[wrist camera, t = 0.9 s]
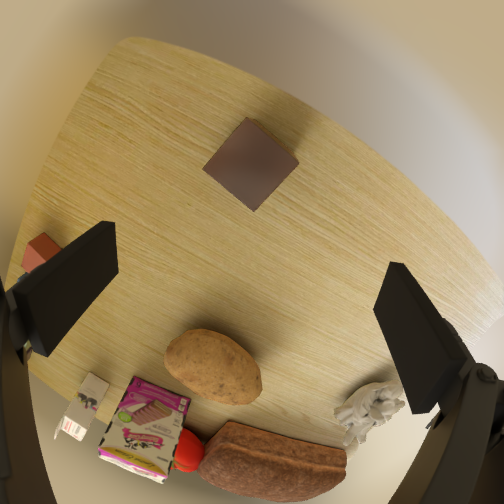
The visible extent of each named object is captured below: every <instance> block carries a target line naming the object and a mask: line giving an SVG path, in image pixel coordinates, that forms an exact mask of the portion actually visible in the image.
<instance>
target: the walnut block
mask: <svg viewBox="0 0 504 504" xmlns="http://www.w3.org/2000/svg"><path fill="white" fill-rule="evenodd" d="M298 165H299V161H298V160H297V158H296V156H295V154H294V153H293V152H292V151H291V150H290V149H289V148H287V147H286V146H285V145H284V144H283V143H282V142H281V141H279V140H278V139H277V138H276V137H275V136H274V135H273V134H271V133H270V132H269V131H268V130H267V129H266V128H264V127H263V126H262V125H261V124H260V123H258V122H257V121H256V120H255V119H251V118H247V117H246V118H245V119H244V121H243V122H242V123H241V124H240V125H239V126H238V127H237V128H236V130H235V131H234V132H233V133H232V134H231V135H230V137H229V138H228V139H227V140H226V141H225V142H224V144H223V145H222V146H221V147H220V148H219V149H218V151H217V152H216V153H215V154H214V155H213V157H212V158H211V159H210V160H209V161H208V163H207V164H206V165H205V166H204V168H203V170H204V171H205V172H206V173H207V174H209V175H210V176H211V177H212V178H214V179H215V180H216V181H217V182H218V183H220V184H221V185H222V186H223V187H224V188H226V189H227V190H228V191H229V192H230V193H232V194H233V195H234V196H235V197H236V198H237V199H239V200H240V201H241V202H242V203H243V204H245V205H246V206H247V207H248V208H249V209H251V210H252V211H253V212H255V210H256V209H257V208H258V207H259V206H260V205H261V204H262V203H263V202H264V201H265V200H266V199H267V198H268V196H269V195H270V194H271V193H272V192H273V191H274V190H275V189H276V188H277V187H278V186H279V185H280V184H281V183H282V182H283V180H284V179H285V178H286V177H287V176H288V175H289V174H290V173H291V172H292V171H293V170H294V169H295V168H296V167H297V166H298Z"/></svg>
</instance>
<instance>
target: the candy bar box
mask: <svg viewBox="0 0 504 504" xmlns="http://www.w3.org/2000/svg"><path fill="white" fill-rule="evenodd" d="M190 402H191V399H189V398H186V397H183V396H180V395H178V394H175V393H173V392H170V391H168V390H165V389H163V388H160V387H158V386H156V385H153V384H151V383H149V382H146V381H144V380H142V379H140V378H137V377H135V376H133V378H132V380H131V381H130V384H129V385H128V387H127V389H126V391H125V393H124V395H123V397H122V399H121V401H120V403H119V405H118V407H117V409H116V411H115V413H114V415H113V417H112V419H111V422H110V424H109V426H108V428H107V430H106V432H105V434H104V436H103V438H102V440H101V442H100V444H99V447H98V451H99V457H100V458H102V459H104V460H106V461H108V462H110V463H112V464H115V465H117V466H119V467H121V468H124V469H126V470H128V471H131V472H133V473H136V474H138V475H141V476H143V477H146V478H148V479H151V480H154V481H157V482H159V483H162V484H163V483H164V481H165V480H166V479H167V477H168V475H169V472H170V469H171V465H172V462H173V458H174V455H175V452H176V448H177V445H178V442H179V438H180V435H181V432H182V428H183V425H184V422H185V419H186V415H187V412H188V409H189V405H190Z"/></svg>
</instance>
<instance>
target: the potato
mask: <svg viewBox="0 0 504 504" xmlns="http://www.w3.org/2000/svg"><path fill="white" fill-rule="evenodd" d="M164 365H165V366H166V368H167V369H168V371H169V372H170V374H171V375H172V376H173V377H175V378H176V379H177V380H178V381H180V382H181V383H182V384H184V385H185V386H187V387H188V388H189V389H190V390H192V391H193V392H194V393H195V394H197V395H199V396H202V397H204V398H207V399H211V400H215V401H218V402H221V403H224V404H228V405H244V404H249V403H251V402H252V401H253V400H255V399H256V398H257V397H258V396H259V395H260V393H261V391H262V382H261V375H260V369H259V367H258V365H257V363H256V362H255V360H254V359H253V358H252V357H251V356H250V355H249V353H248V352H247V351H245V350H244V349H243V348H242V347H241V346H239V345H238V344H237V343H236V342H234V341H233V340H232V339H230V338H229V337H228V336H225V335H223V334H220V333H217V332H215V331H211V330H206V329H192V330H187V331H186V332H185V333H183V334H182V335H181V336H179V337H178V338H176V339H174V340H172V341H171V342H170V344H169V346H168V348H167V350H166V353H165V355H164Z"/></svg>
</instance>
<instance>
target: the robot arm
mask: <svg viewBox="0 0 504 504" xmlns="http://www.w3.org/2000/svg"><path fill="white" fill-rule="evenodd" d="M118 273H119V270H118V260H117V247H116V232H115V222H108V221H101V222H99V223H98V224H96V225H95V226H94V227H92V228H91V229H89V230H88V231H87V232H85V233H84V234H82V235H81V236H80V237H78V238H77V239H75V240H74V241H73V242H71V243H70V244H69V245H67V246H66V247H65V248H63V249H62V250H61V251H59V252H58V253H57V254H55V255H54V256H53V257H51V258H50V259H49V260H48V261H46V262H45V263H43V264H40V265H38V266H37V267H35V268H34V269H33V270H32V271H30V273H28V274H27V275H26V276H24V278H22V279H21V280H19V281H18V282H17V283H16V284H15V285H14V286H12V287H11V288H10V289H9V290H8V291H7V292H5V291H4V288H3V285H2V281H1V277H0V504H57V502H56V499H55V496H54V493H53V490H52V487H51V484H50V481H49V478H48V475H47V471H46V467H45V464H44V460H43V456H42V452H41V448H40V444H39V439H38V435H37V430H36V425H35V419H34V414H33V408H32V400H31V393H30V385H29V376H28V364H27V352H26V349H25V346H24V345H25V344H26V342H27V341H28V340H29V341H30V344H31V346H32V349H33V351H34V352H36V353H38V354H40V355H43V356H45V357H49V355H50V354H51V353H52V351H53V350H54V349H55V348H56V346H57V345H58V344H59V342H60V341H61V340H62V339H63V337H64V336H65V335H66V334H67V332H68V331H69V330H70V329H71V328H72V326H73V325H74V324H75V323H76V321H77V320H78V319H79V318H80V317H81V315H82V314H83V313H84V312H85V311H86V309H87V308H88V307H89V306H90V305H91V304H92V302H93V301H94V300H95V299H96V298H97V297H98V295H99V294H100V293H101V292H102V291H103V290H104V289H105V287H106V286H107V285H108V284H109V283H110V282H111V281H112V280H113V278H114V277H115V276H116V275H117V274H118ZM373 311H374V313H375V316H376V318H377V320H378V323H379V325H380V328H381V330H382V333H383V335H384V338H385V340H386V343H387V345H388V348H389V350H390V353H391V355H392V358H393V361H394V363H395V366H396V369H397V371H398V374H399V377H400V380H401V382H402V385H403V388H404V391H405V394H406V397H407V399H408V402H409V405H410V408H411V411H412V414H423V413H429V412H430V411H431V410H432V408H433V407H434V406H435V405H436V403H437V402H438V405H439V407H440V411H439V412H438V413H437V415H436V416H435V417H434V418H433V419H432V420H431V422H430V423H429V424H428V425H427V426H426V428H427V429H428V428H429V427H430V426H431V427H430V429H429V431H428V433H427V436H426V438H425V440H424V442H423V444H422V446H421V448H420V450H419V452H418V454H417V455H416V457H415V459H414V461H413V463H412V465H411V467H410V468H409V470H408V472H407V474H406V476H405V477H404V479H403V480H402V482H401V484H400V485H399V487H398V489H397V490H396V492H395V493H394V495H393V496H392V498H391V500H390V501H389V503H388V504H504V381H503V380H499V379H498V377H497V374H496V373H495V372H494V370H493V369H492V368H490V367H489V366H487V365H485V364H483V363H476V362H475V360H474V359H473V357H472V355H471V354H470V352H469V350H468V349H467V347H466V345H465V344H464V342H462V339H461V337H460V336H458V333H457V331H456V330H455V328H454V327H453V325H451V324H450V323H449V322H448V321H447V320H446V319H445V318H442V317H441V315H440V314H439V312H438V311H437V309H436V308H435V306H434V305H433V303H432V302H431V300H430V299H429V298H428V296H427V295H426V293H425V292H424V290H423V289H422V288H421V286H420V285H419V284H418V282H417V281H416V279H415V278H414V277H413V275H412V274H411V273H410V271H409V270H408V269H407V267H406V266H405V265H404V263H397V262H391V261H390V263H389V266H388V269H387V272H386V275H385V278H384V281H383V284H382V286H381V289H380V292H379V295H378V298H377V300H376V303H375V306H374V308H373Z"/></svg>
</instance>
